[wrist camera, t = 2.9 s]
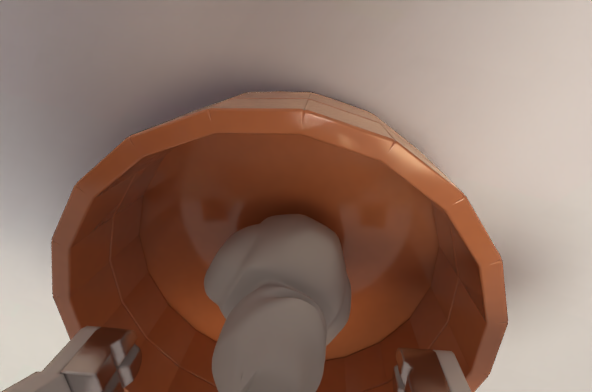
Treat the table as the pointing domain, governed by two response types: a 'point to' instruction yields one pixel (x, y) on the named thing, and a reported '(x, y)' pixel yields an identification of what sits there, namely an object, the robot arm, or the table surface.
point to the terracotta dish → (265, 203)
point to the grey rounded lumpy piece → (277, 304)
